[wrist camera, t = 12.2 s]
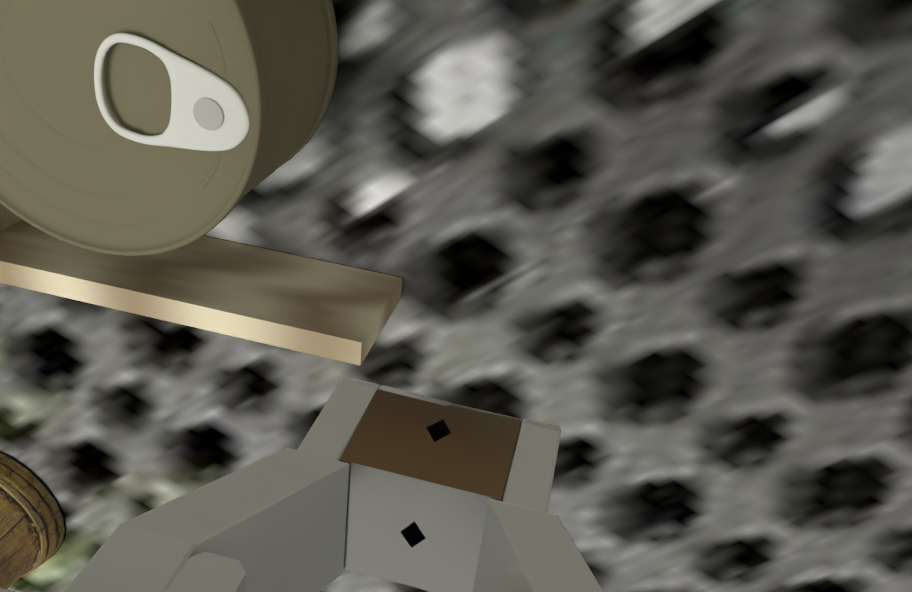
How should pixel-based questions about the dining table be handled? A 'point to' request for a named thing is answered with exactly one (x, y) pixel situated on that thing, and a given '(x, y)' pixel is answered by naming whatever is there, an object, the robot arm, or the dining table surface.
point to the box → (213, 289)
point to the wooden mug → (25, 522)
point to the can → (154, 111)
